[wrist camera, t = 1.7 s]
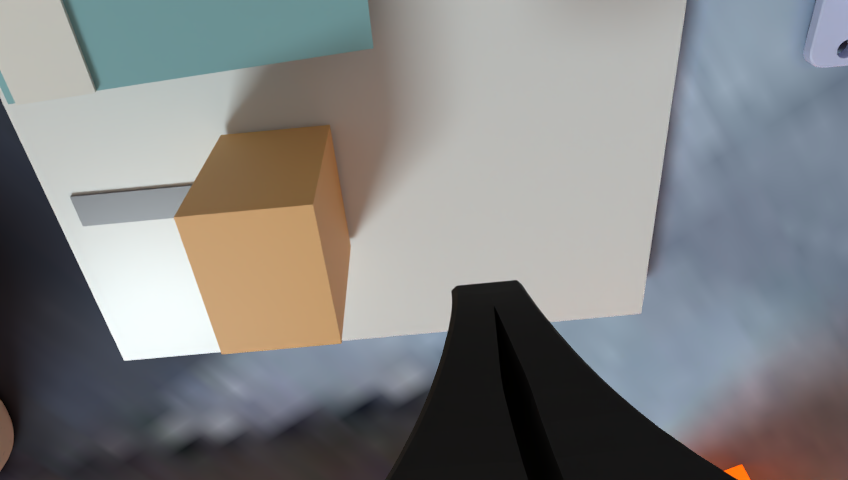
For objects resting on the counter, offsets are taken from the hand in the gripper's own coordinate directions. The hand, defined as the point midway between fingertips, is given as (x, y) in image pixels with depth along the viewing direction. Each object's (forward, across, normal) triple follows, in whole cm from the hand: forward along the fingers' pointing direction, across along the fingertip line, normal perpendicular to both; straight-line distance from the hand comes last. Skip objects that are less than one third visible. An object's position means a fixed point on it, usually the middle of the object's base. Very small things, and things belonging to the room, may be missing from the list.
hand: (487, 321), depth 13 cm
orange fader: (+6, +5, 0) cm, 8 cm away
